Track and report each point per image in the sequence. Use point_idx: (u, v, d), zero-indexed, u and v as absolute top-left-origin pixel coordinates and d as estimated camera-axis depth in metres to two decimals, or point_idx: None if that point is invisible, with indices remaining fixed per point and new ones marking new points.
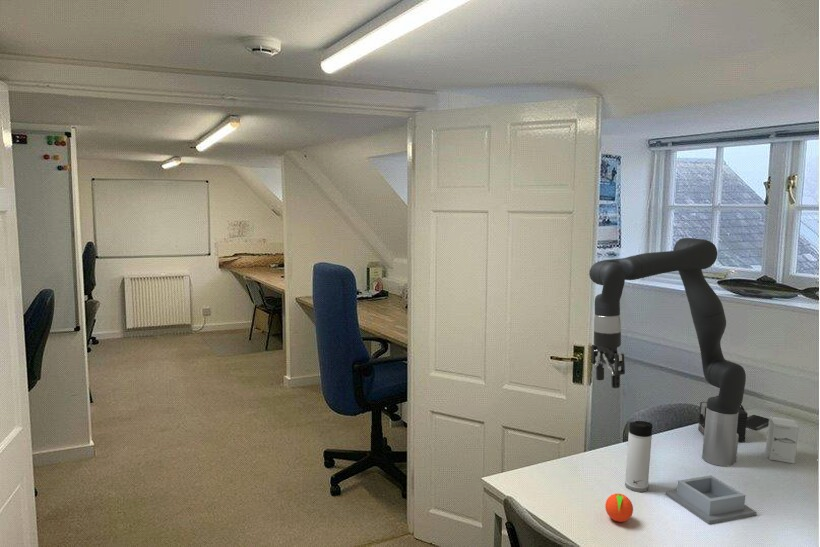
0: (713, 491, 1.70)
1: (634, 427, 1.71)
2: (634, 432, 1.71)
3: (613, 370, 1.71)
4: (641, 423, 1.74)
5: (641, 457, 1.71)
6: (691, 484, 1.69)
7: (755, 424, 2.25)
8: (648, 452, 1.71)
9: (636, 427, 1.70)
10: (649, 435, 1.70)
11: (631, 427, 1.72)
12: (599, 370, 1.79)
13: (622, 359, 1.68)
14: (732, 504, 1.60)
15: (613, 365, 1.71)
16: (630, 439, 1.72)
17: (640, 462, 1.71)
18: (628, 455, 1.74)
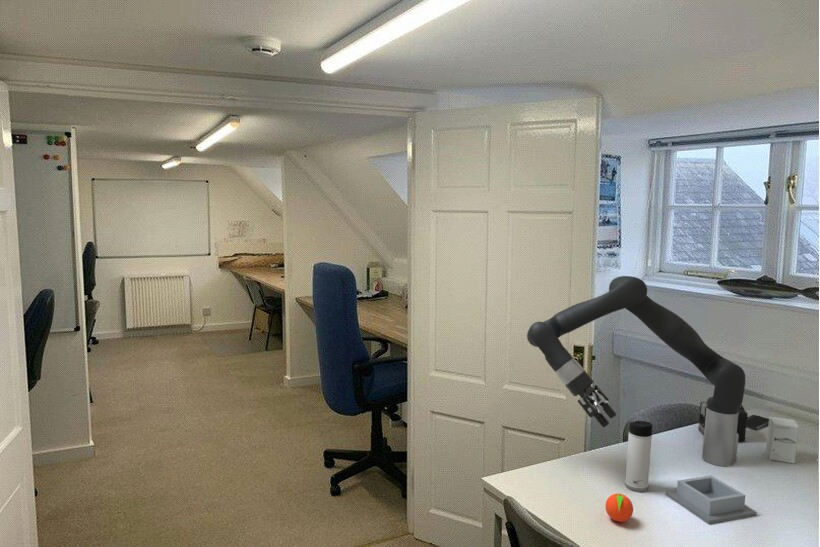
0: (713, 491, 1.70)
1: (634, 427, 1.71)
2: (634, 432, 1.71)
3: None
4: (641, 423, 1.74)
5: (641, 457, 1.71)
6: (691, 484, 1.69)
7: (755, 424, 2.25)
8: (648, 452, 1.71)
9: (636, 427, 1.70)
10: (649, 435, 1.70)
11: (631, 427, 1.72)
12: (605, 409, 1.82)
13: (585, 401, 1.74)
14: (732, 504, 1.60)
15: (590, 407, 1.76)
16: (630, 439, 1.72)
17: (640, 462, 1.71)
18: (628, 455, 1.74)
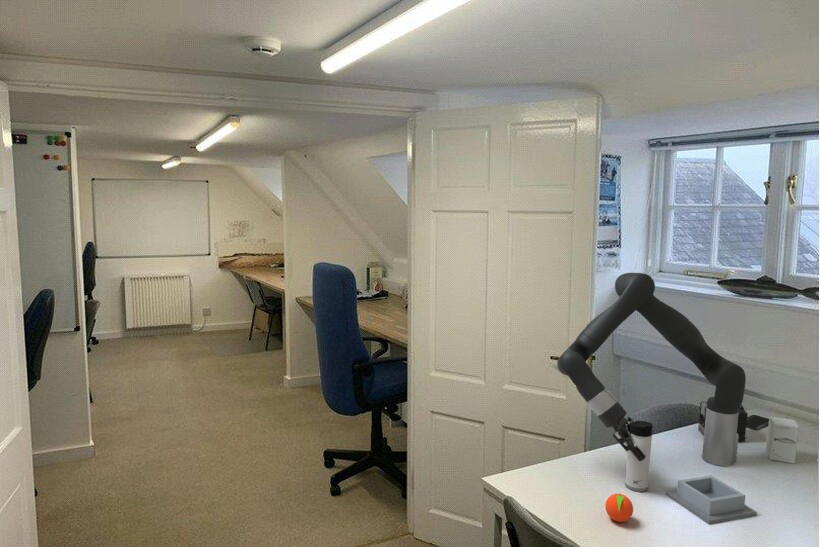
0: (713, 491, 1.70)
1: (634, 427, 1.71)
2: (634, 432, 1.71)
3: (627, 446, 1.71)
4: (641, 423, 1.74)
5: None
6: (691, 484, 1.69)
7: (755, 424, 2.25)
8: (648, 452, 1.71)
9: (636, 427, 1.70)
10: (649, 435, 1.70)
11: (631, 427, 1.72)
12: None
13: (621, 436, 1.69)
14: (732, 504, 1.60)
15: None
16: None
17: (640, 462, 1.71)
18: (628, 455, 1.74)
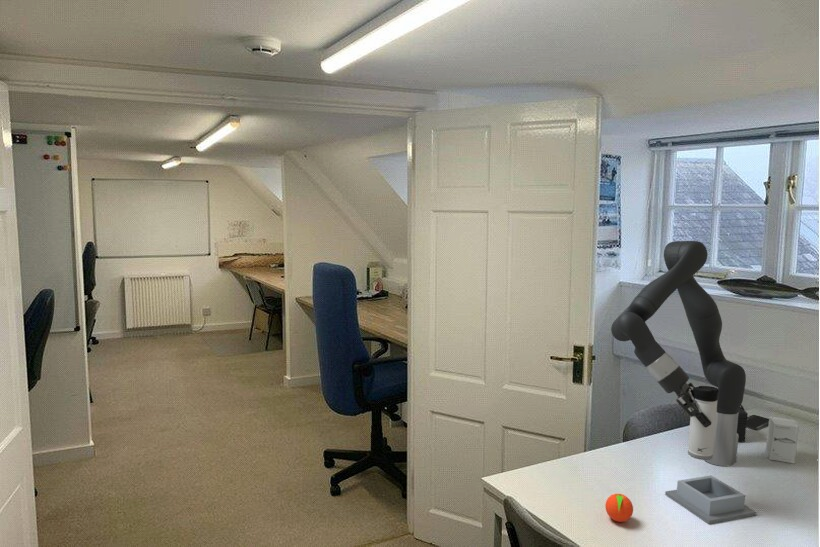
0: (713, 491, 1.70)
1: (699, 391, 1.62)
2: (699, 397, 1.62)
3: (691, 412, 1.62)
4: (705, 388, 1.64)
5: None
6: (691, 484, 1.69)
7: (755, 424, 2.25)
8: (713, 417, 1.61)
9: (701, 391, 1.61)
10: (715, 400, 1.61)
11: (695, 392, 1.63)
12: None
13: (685, 401, 1.60)
14: (732, 504, 1.60)
15: None
16: None
17: (705, 428, 1.62)
18: (692, 422, 1.64)
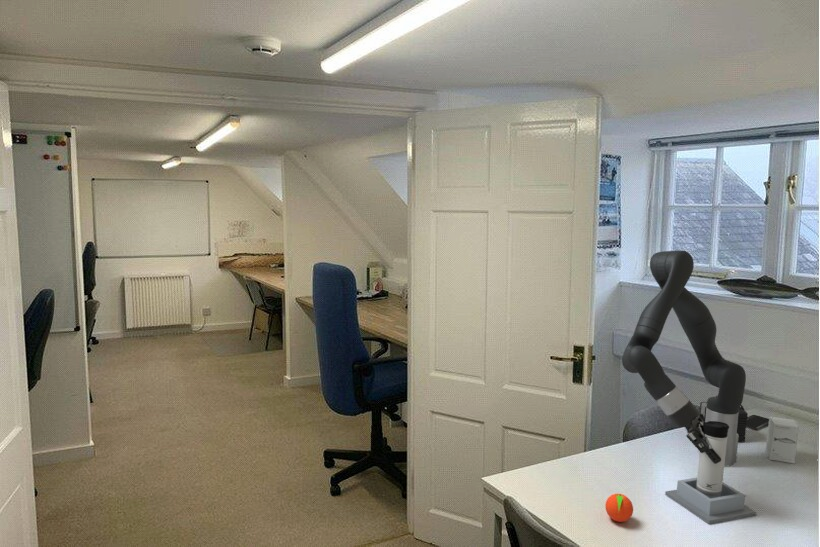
0: None
1: (709, 427, 1.61)
2: (709, 433, 1.61)
3: (701, 447, 1.62)
4: (715, 423, 1.64)
5: None
6: (691, 484, 1.69)
7: (755, 424, 2.25)
8: (723, 454, 1.61)
9: (711, 427, 1.61)
10: (725, 436, 1.61)
11: (705, 427, 1.62)
12: None
13: (695, 437, 1.60)
14: (732, 504, 1.60)
15: None
16: None
17: (715, 464, 1.61)
18: (701, 457, 1.64)
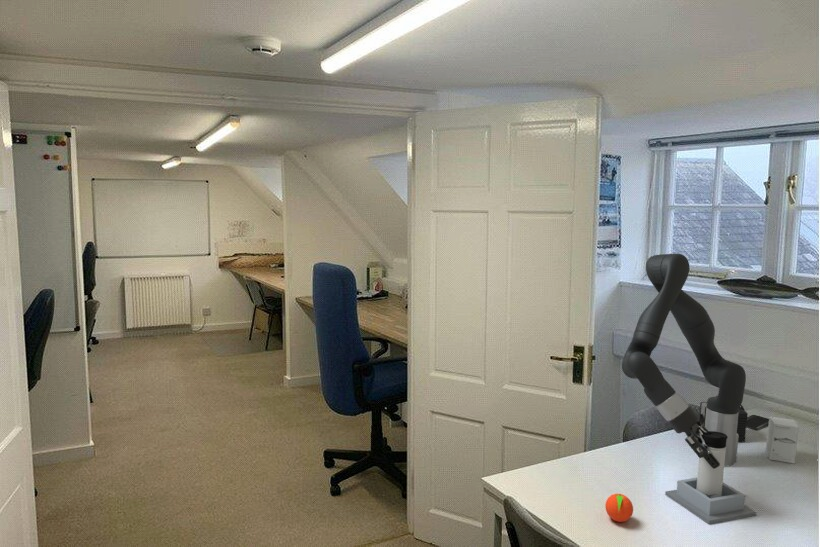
0: None
1: (708, 438, 1.62)
2: (708, 443, 1.62)
3: (699, 452, 1.61)
4: (714, 434, 1.64)
5: (716, 470, 1.61)
6: (691, 484, 1.69)
7: (755, 424, 2.25)
8: (722, 464, 1.62)
9: (710, 438, 1.61)
10: (724, 446, 1.61)
11: (704, 438, 1.63)
12: None
13: (694, 441, 1.60)
14: (732, 504, 1.60)
15: (698, 446, 1.62)
16: None
17: (714, 474, 1.62)
18: (700, 467, 1.64)
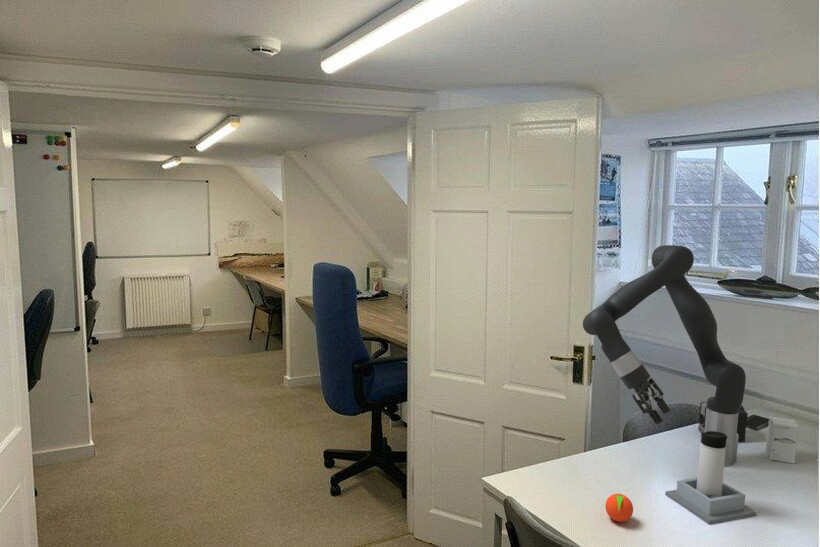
0: None
1: (707, 438, 1.62)
2: (707, 443, 1.62)
3: (645, 408, 1.70)
4: (714, 434, 1.65)
5: (715, 470, 1.61)
6: (691, 484, 1.69)
7: (755, 424, 2.25)
8: (722, 464, 1.62)
9: (710, 438, 1.61)
10: (724, 446, 1.61)
11: (704, 438, 1.63)
12: (659, 404, 1.76)
13: (640, 397, 1.68)
14: (732, 504, 1.60)
15: None
16: (703, 450, 1.63)
17: (714, 474, 1.62)
18: (700, 467, 1.64)
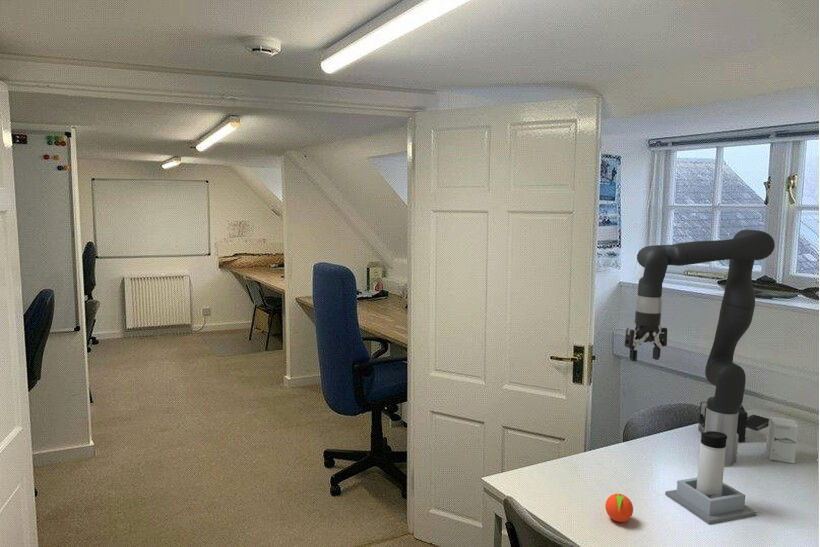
0: None
1: (707, 438, 1.62)
2: (707, 443, 1.62)
3: None
4: (714, 433, 1.65)
5: (715, 470, 1.61)
6: (691, 484, 1.69)
7: (755, 424, 2.25)
8: (722, 464, 1.62)
9: (710, 438, 1.61)
10: (724, 446, 1.61)
11: (704, 438, 1.63)
12: (654, 349, 1.91)
13: (629, 334, 1.86)
14: (732, 504, 1.60)
15: (635, 340, 1.88)
16: (703, 450, 1.63)
17: (714, 474, 1.62)
18: (700, 467, 1.64)
